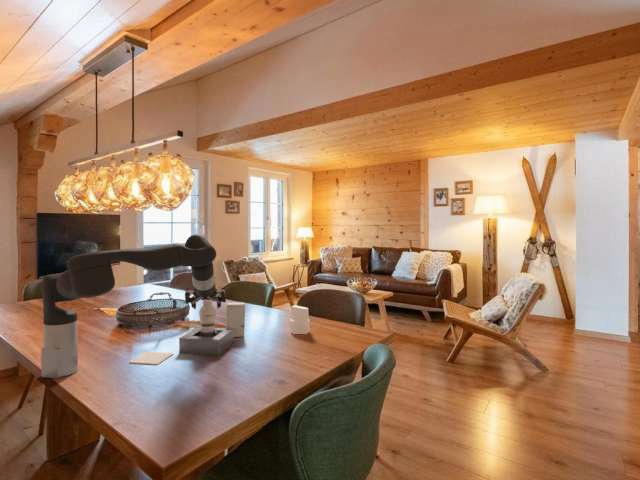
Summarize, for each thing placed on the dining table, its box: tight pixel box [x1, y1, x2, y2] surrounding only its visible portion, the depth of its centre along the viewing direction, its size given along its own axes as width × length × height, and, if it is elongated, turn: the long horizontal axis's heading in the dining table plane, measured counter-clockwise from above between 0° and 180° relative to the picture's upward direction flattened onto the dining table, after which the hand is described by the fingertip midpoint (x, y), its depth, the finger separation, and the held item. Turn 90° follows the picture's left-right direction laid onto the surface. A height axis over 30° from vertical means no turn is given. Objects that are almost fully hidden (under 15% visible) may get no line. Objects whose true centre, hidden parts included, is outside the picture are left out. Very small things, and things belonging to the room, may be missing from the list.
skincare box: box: [225, 301, 246, 338], centre depth 167 cm, size 8×6×15 cm
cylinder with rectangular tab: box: [289, 304, 310, 335], centre depth 173 cm, size 9×9×12 cm
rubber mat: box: [128, 351, 175, 366], centre depth 137 cm, size 11×11×1 cm
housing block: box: [178, 326, 235, 357], centre depth 150 cm, size 16×16×6 cm
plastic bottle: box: [198, 300, 217, 337], centre depth 149 cm, size 6×7×20 cm
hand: (206, 306), depth 139 cm, fingers open, 8 cm apart
